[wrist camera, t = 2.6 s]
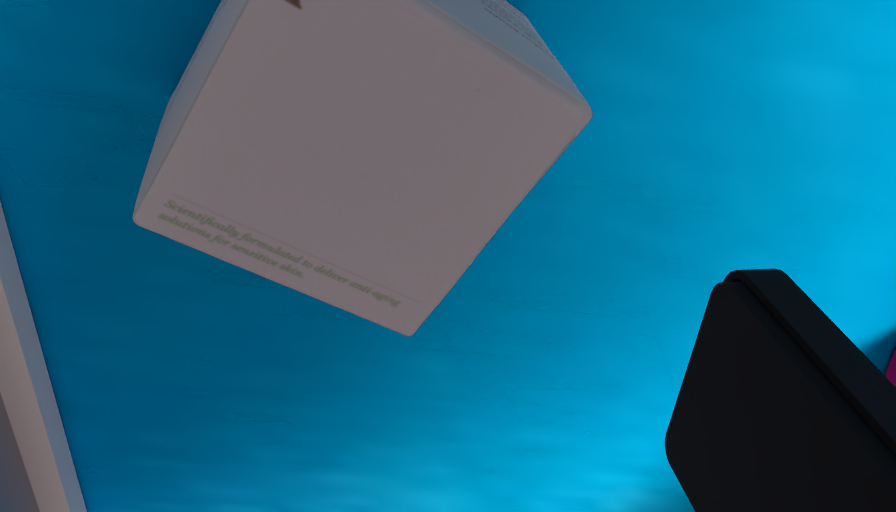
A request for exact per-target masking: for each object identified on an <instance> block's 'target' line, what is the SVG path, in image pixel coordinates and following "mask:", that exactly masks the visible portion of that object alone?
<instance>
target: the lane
mask: <svg viewBox="0 0 896 512" xmlns="http://www.w3.org/2000/svg"><path fill="white" fill-rule="evenodd" d="M0 512H87V510H86V507H85V503H84V499H83V496H82V492H81V489H80V485H79V481H78V478H77V474H76V471H75V467H74V464H73V460H72V456H71V453H70V449H69V446H68V442H67V438H66V435H65V431H64V428H63V424H62V421H61V417H60V413H59V410H58V406H57V403H56V399H55V395H54V392H53V388H52V385H51V381H50V378H49V374H48V370H47V367H46V363H45V360H44V356H43V353H42V349H41V345H40V342H39V338H38V335H37V331H36V327H35V324H34V320H33V317H32V313H31V310H30V306H29V302H28V299H27V295H26V292H25V288H24V284H23V281H22V277H21V274H20V270H19V267H18V263H17V259H16V256H15V252H14V249H13V245H12V241H11V238H10V234H9V231H8V227H7V224H6V220H5V216H4V213H3V209H2V206H1V202H0Z"/></svg>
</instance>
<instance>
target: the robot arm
mask: <svg viewBox="0 0 896 512" xmlns="http://www.w3.org/2000/svg"><path fill="white" fill-rule="evenodd" d="M665 450H666V455H667V459H668V461H669V464H670V466H671V468H672V470H673V471H674V473H675V475H676V477H677V479H678V481H679V482H680V484H681V486H682V488H683V490H684V492H685V493H686V495H687V497H688V499H689V501H690V502H691V504H692V506H693V508H694V510H695V512H896V387H895V386H894V385H893V384H892V383H891V382H890V381H889V380H888V379H887V378H886V377H885V376H884V375H883V374H882V372H881V371H880V370H879V369H878V368H877V367H876V366H875V365H874V364H873V363H872V362H871V361H870V360H869V359H868V358H867V357H866V356H865V355H864V354H863V353H862V352H861V351H860V350H859V349H858V348H857V347H856V346H855V345H854V344H853V342H852V341H851V340H850V339H849V338H848V337H847V336H846V335H845V334H844V333H843V332H842V331H841V330H840V329H839V328H838V327H837V326H836V325H835V324H834V323H833V322H832V321H831V320H830V319H829V318H828V317H827V316H826V315H825V314H824V312H823V311H822V310H821V309H820V308H819V307H818V306H817V305H816V304H815V303H814V302H813V301H812V300H811V299H810V298H809V297H808V296H807V295H806V294H805V293H804V292H803V291H802V290H801V289H800V288H799V287H798V286H797V285H796V284H795V282H794V281H793V280H792V279H791V278H790V277H789V276H788V275H787V274H785V273H784V272H783V271H781V270H778V269H754V270H735V271H732V272H730V273H729V274H728V275H727V276H726V277H725V279H724V281H723V282H721V283H718V284H717V285H716V286H715V287H714V288H713V290H712V292H711V295H710V298H709V301H708V304H707V307H706V310H705V314H704V317H703V320H702V323H701V326H700V329H699V332H698V335H697V339H696V342H695V345H694V348H693V351H692V354H691V357H690V360H689V364H688V367H687V370H686V373H685V376H684V379H683V382H682V385H681V389H680V392H679V395H678V398H677V401H676V404H675V407H674V411H673V414H672V417H671V420H670V423H669V426H668V429H667V432H666V437H665Z"/></svg>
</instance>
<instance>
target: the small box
mask: <svg viewBox="0 0 896 512" xmlns="http://www.w3.org/2000/svg"><path fill="white" fill-rule="evenodd" d="M592 116H593V113H592V110H591V108H590V105H589V104H588V102H587V101H586V99H585V98H584V97H583V95H582V94H581V92H580V91H579V90H578V88H577V87H576V85H575V84H574V82H573V81H572V79H571V78H570V77H569V75H568V74H567V72H566V71H565V70H564V68H563V67H562V65H561V64H560V63H559V61H558V60H557V59H556V57H555V56H554V55H553V53H552V52H551V51H550V49H549V48H548V47H547V45H546V44H545V42H544V41H543V39H542V38H541V37H540V35H539V34H538V33H537V31H536V30H535V29H534V27H533V26H532V24H531V23H530V21H529V20H528V18H527V17H526V16H525V15H524V14H523V13H521V12H520V11H519V10H517V9H516V8H515V7H514V6H512V5H511V4H510V3H508V2H507V1H505V0H221V2H220V4H219V6H218V8H217V10H216V12H215V14H214V16H213V17H212V19H211V21H210V23H209V25H208V27H207V29H206V31H205V33H204V35H203V37H202V39H201V40H200V42H199V44H198V46H197V48H196V50H195V52H194V54H193V56H192V58H191V60H190V62H189V64H188V65H187V67H186V69H185V71H184V73H183V75H182V77H181V79H180V81H179V83H178V85H177V87H176V89H175V90H174V92H173V94H172V96H171V97H170V99H169V101H168V104H167V107H166V110H165V112H164V115H163V118H162V121H161V124H160V127H159V130H158V133H157V136H156V139H155V142H154V146H153V149H152V152H151V155H150V158H149V161H148V164H147V167H146V170H145V173H144V176H143V179H142V182H141V186H140V189H139V192H138V196H137V199H136V203H135V207H134V212H133V221H134V222H135V224H137V225H138V226H141V227H143V228H145V229H148V230H151V231H153V232H156V233H158V234H161V235H163V236H166V237H168V238H170V239H172V240H175V241H177V242H180V243H182V244H184V245H187V246H189V247H192V248H194V249H197V250H199V251H202V252H204V253H207V254H209V255H211V256H214V257H216V258H218V259H221V260H223V261H225V262H228V263H231V264H233V265H236V266H238V267H241V268H243V269H246V270H248V271H251V272H253V273H255V274H258V275H260V276H262V277H265V278H267V279H270V280H272V281H275V282H277V283H279V284H282V285H284V286H287V287H289V288H292V289H294V290H297V291H299V292H301V293H304V294H306V295H309V296H311V297H314V298H316V299H318V300H321V301H324V302H326V303H328V304H331V305H333V306H336V307H338V308H341V309H343V310H346V311H348V312H350V313H353V314H355V315H358V316H360V317H362V318H365V319H367V320H370V321H372V322H374V323H377V324H379V325H381V326H384V327H386V328H389V329H391V330H393V331H396V332H398V333H401V334H402V335H405V336H411V335H413V334H414V333H415V331H416V330H417V329H418V328H419V326H420V325H421V324H422V323H423V321H424V320H425V319H426V318H427V317H428V316H429V314H430V313H431V312H432V311H433V309H434V308H435V307H436V306H437V305H438V304H439V303H440V302H441V300H442V299H443V298H444V297H445V295H446V294H447V293H448V292H449V291H450V289H451V288H452V287H453V286H454V284H455V283H456V282H457V281H458V279H459V278H460V277H461V276H462V274H463V273H464V272H465V270H466V269H467V268H468V267H469V266H470V264H471V263H472V262H473V261H474V259H475V258H476V257H477V255H478V254H479V253H480V251H481V250H482V249H483V248H484V246H485V245H486V244H487V243H488V241H489V240H490V239H491V238H492V237H493V235H494V234H495V233H496V232H497V230H498V229H499V228H500V226H501V225H502V224H503V223H504V221H505V220H506V219H507V218H508V216H509V215H510V214H511V213H512V212H513V210H514V209H515V208H516V207H517V206H518V205H519V203H520V202H521V201H522V200H523V199H524V198H525V196H526V195H527V194H528V193H529V192H530V191H531V189H532V188H533V187H534V186H535V185H536V184H537V182H538V181H539V180H540V179H541V178H542V177H543V175H544V174H545V173H546V172H547V171H548V170H549V168H550V167H551V166H552V165H553V164H554V162H555V161H556V160H557V159H558V158H559V156H560V155H561V154H562V153H563V152H564V150H565V149H566V148H567V147H568V146H569V145H570V144H571V142H572V141H573V140H574V139H575V138H576V137H577V135H578V134H579V133H580V132H581V131H582V130H583V129H584V127H585V126H586V125H587V124H588V122H589V121H590V119H591V118H592Z"/></svg>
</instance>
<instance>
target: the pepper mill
mask: <svg viewBox="0 0 896 512" xmlns="http://www.w3.org/2000/svg"><path fill="white" fill-rule="evenodd" d="M886 378H887V379H888V380H889V381H890V382H891V383H892V384H893V385H894V386H895V387H896V349H895V351H894V353H893V355H892V357H891V360H890V362H889V364H888V367H887V371H886Z"/></svg>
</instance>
